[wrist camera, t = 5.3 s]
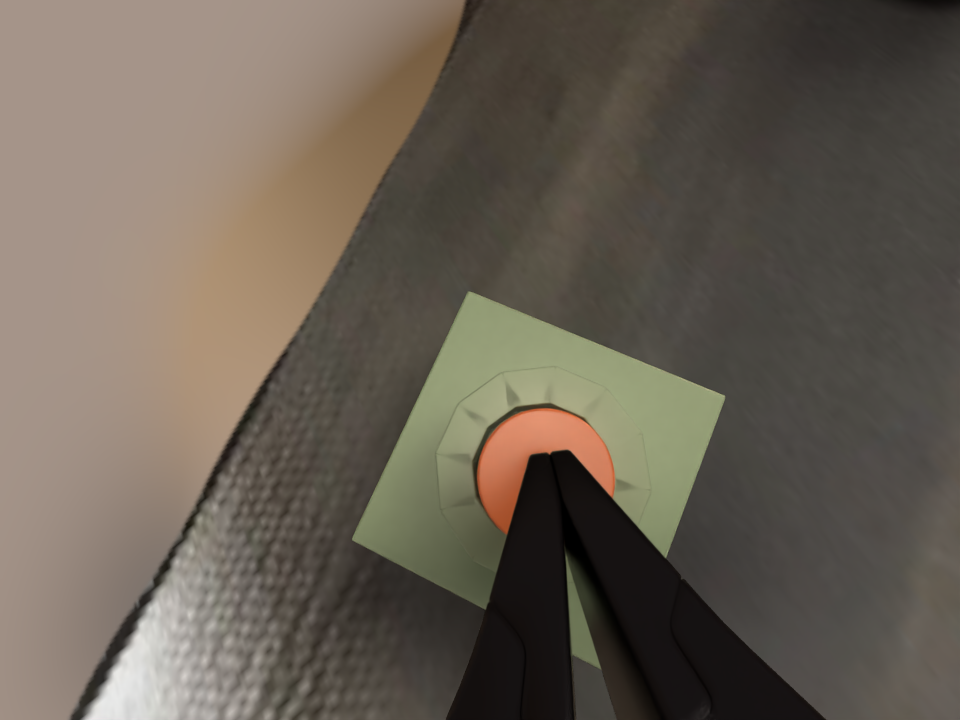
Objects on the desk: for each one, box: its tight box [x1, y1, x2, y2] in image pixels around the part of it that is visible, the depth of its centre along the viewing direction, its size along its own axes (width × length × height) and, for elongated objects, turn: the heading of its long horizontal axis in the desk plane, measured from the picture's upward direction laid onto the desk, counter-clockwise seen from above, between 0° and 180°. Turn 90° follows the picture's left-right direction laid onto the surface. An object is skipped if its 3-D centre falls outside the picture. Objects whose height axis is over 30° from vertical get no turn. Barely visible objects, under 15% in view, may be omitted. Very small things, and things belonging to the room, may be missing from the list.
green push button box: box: [352, 292, 725, 669], centre depth 18 cm, size 10×10×8 cm
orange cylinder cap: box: [477, 408, 615, 535], centre depth 13 cm, size 4×4×3 cm
